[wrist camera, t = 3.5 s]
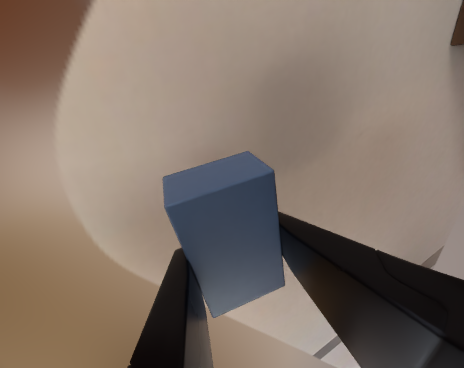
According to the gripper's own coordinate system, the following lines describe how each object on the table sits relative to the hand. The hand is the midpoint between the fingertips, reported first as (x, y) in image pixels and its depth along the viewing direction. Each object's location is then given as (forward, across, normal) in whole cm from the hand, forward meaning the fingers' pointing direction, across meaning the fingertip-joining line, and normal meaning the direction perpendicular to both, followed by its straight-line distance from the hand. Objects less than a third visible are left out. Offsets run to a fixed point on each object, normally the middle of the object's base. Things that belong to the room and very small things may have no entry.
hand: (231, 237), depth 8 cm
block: (+1, 0, 0) cm, 1 cm away
